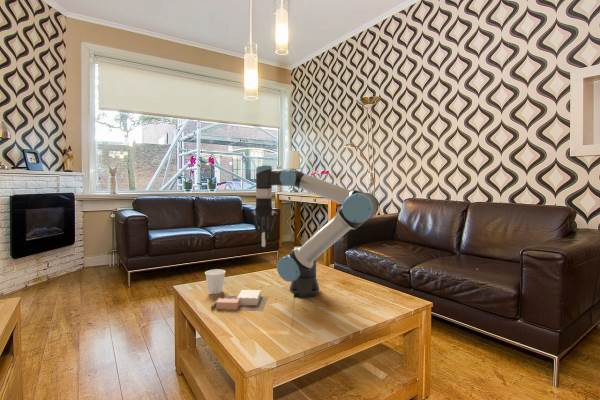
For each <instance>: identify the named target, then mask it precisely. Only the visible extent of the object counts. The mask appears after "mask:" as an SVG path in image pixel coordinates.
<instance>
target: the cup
mask: <svg viewBox="0 0 600 400" xmlns="http://www.w3.org/2000/svg"><path fill="white" fill-rule="evenodd" d="M204 274H205V278H206V284H207V290H208V295H209V296H211V295H213V294H214V295H216V294H220V293H221V294H222V292H223V289H224V288H223V287H224V282H225V275H226V270H224V269H222V268H220V269H218V268H215V269H210V270H209V269H208V270H206V271H204Z"/></svg>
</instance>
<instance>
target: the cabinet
mask: <svg viewBox="0 0 600 400" xmlns="http://www.w3.org/2000/svg"><path fill="white" fill-rule="evenodd" d="M239 306H240V298H219V299H218V301H217V302H216V309H231V310H230V311H238V310H237V309H238V308H239Z"/></svg>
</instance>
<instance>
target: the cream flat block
mask: <svg viewBox="0 0 600 400" xmlns="http://www.w3.org/2000/svg"><path fill="white" fill-rule="evenodd" d="M237 296H238V297H237V298H240V305H257V304H258V302H259V300H260V297H261V296H262V290H261V289H241V290H240V292H239V294H238V295H237Z"/></svg>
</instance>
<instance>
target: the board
mask: <svg viewBox="0 0 600 400" xmlns="http://www.w3.org/2000/svg"><path fill="white" fill-rule="evenodd" d="M237 297H238V295H225V292H223V291H222V292H221V294H219V296H218V297H217V299H216V300H215V301H214V302H213V304H212V305H211V306H210V310H212V311H214V310H215V311H232V310H231V309H216V302H217V301H218V299H219V298H237ZM268 299H269V296H262V295H261V297H260V300H259V302H258V304H257V305H240V306H239V308H238V309H237V310H236V311H245V312H246V311H249V312H250V311H251V312H263V311H264V309H265V307H266V304H267V302H268Z"/></svg>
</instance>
